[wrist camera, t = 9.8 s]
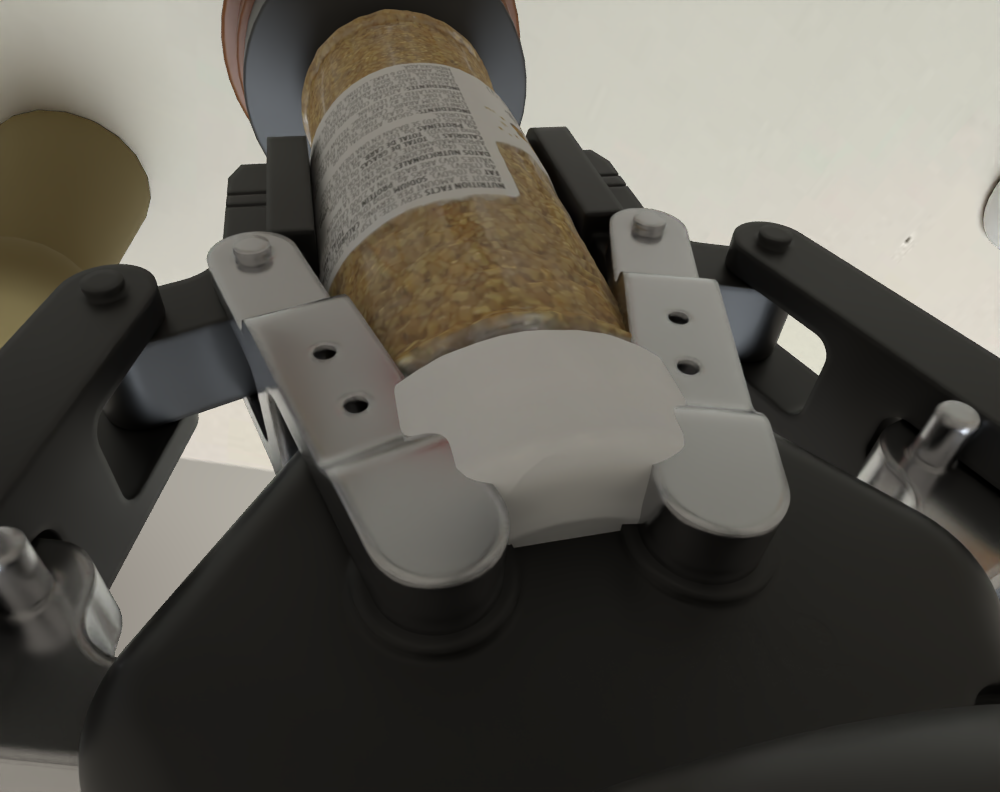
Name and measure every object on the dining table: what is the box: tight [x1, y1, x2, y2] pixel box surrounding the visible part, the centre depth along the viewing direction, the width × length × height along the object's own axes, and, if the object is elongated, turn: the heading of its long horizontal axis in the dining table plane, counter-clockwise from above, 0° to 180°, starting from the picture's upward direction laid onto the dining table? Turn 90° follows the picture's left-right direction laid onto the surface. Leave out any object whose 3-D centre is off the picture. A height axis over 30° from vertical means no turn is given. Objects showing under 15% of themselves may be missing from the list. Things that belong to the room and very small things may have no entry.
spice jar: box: [301, 9, 686, 548], centre depth 12 cm, size 5×5×13 cm
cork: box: [0, 110, 151, 349], centre depth 26 cm, size 6×6×11 cm
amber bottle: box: [221, 0, 526, 160], centre depth 22 cm, size 8×8×13 cm
